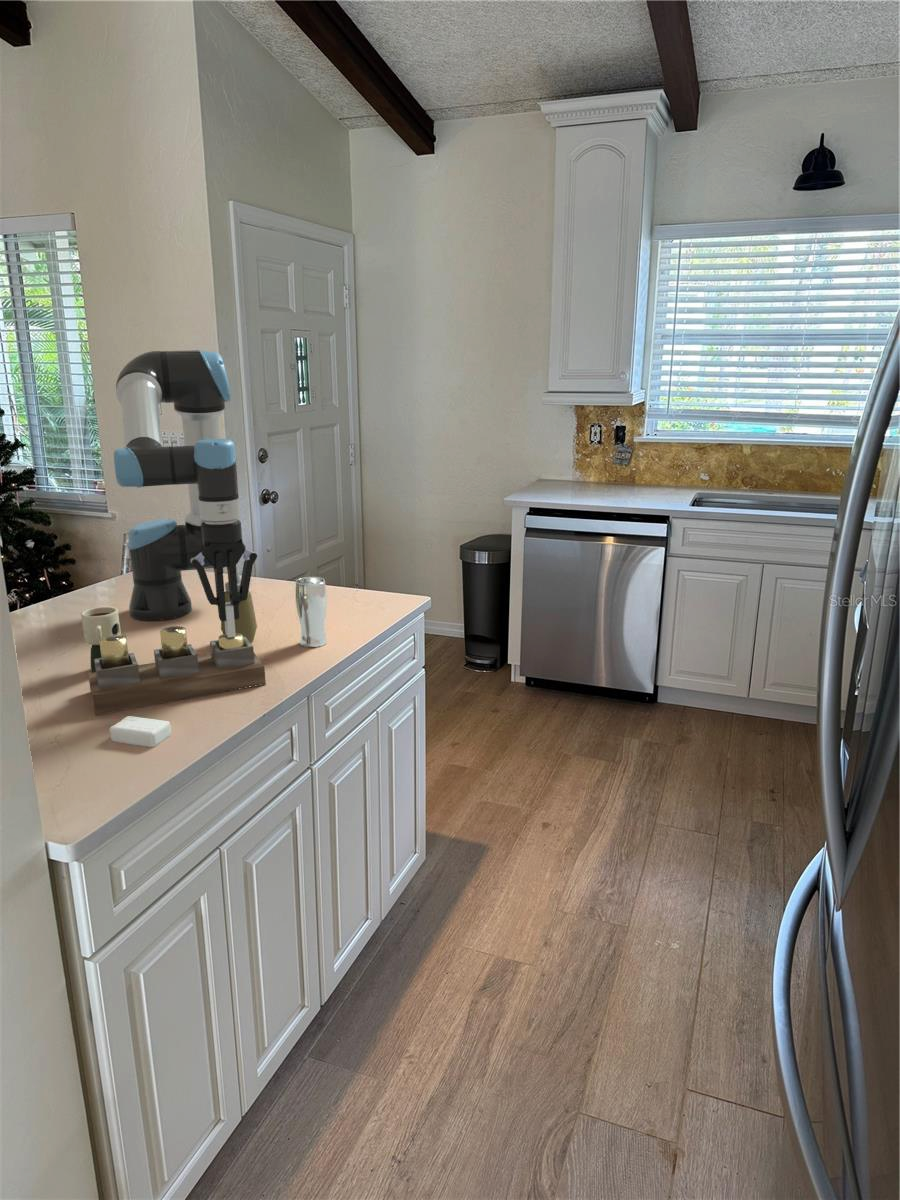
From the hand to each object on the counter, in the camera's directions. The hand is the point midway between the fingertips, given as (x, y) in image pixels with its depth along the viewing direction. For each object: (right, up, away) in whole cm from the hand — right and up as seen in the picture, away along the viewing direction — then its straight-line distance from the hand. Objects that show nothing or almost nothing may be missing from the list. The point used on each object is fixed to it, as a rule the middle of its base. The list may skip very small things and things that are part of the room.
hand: (230, 635), depth 167 cm
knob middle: (-10, -4, -4) cm, 11 cm away
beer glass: (+13, -3, +23) cm, 27 cm away
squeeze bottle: (-4, -3, +24) cm, 24 cm away
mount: (-10, -11, -2) cm, 15 cm away
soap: (-10, -18, -22) cm, 30 cm away
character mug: (-28, -8, +8) cm, 30 cm away
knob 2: (0, -5, +2) cm, 5 cm away
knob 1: (-20, -5, -9) cm, 22 cm away
